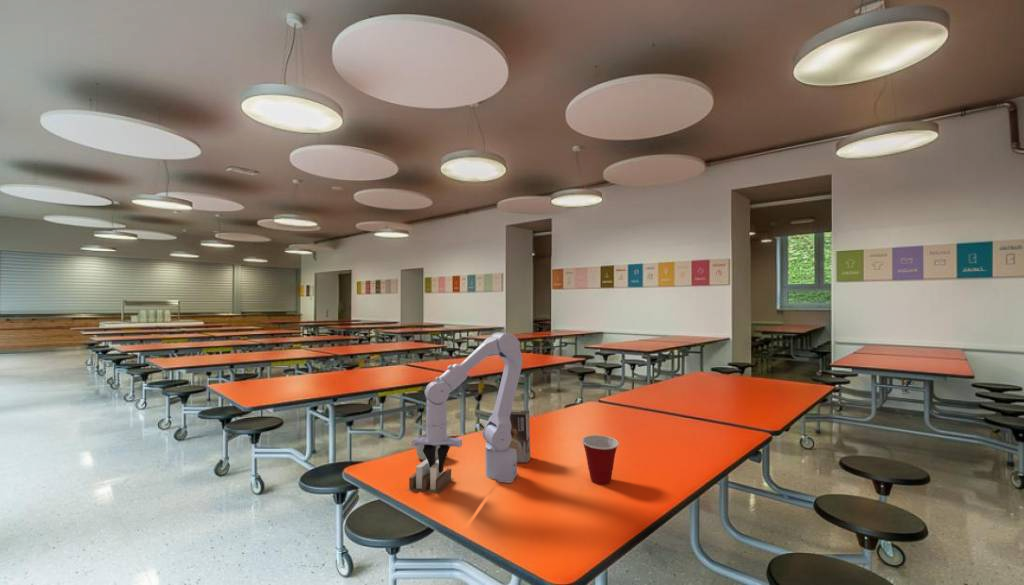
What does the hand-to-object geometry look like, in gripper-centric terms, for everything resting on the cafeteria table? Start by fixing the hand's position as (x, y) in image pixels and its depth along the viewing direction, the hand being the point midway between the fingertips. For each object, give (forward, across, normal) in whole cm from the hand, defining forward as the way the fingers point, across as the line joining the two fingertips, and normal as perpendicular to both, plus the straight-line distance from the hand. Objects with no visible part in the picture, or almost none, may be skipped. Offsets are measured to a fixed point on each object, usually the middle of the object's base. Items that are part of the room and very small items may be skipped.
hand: (437, 471), depth 124 cm
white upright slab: (+4, 0, 0) cm, 4 cm away
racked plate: (+4, +4, 0) cm, 6 cm away
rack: (+5, +2, 0) cm, 5 cm away
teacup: (+5, +9, -25) cm, 27 cm away
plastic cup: (+5, -47, -9) cm, 48 cm away
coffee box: (+5, -20, -26) cm, 33 cm away
